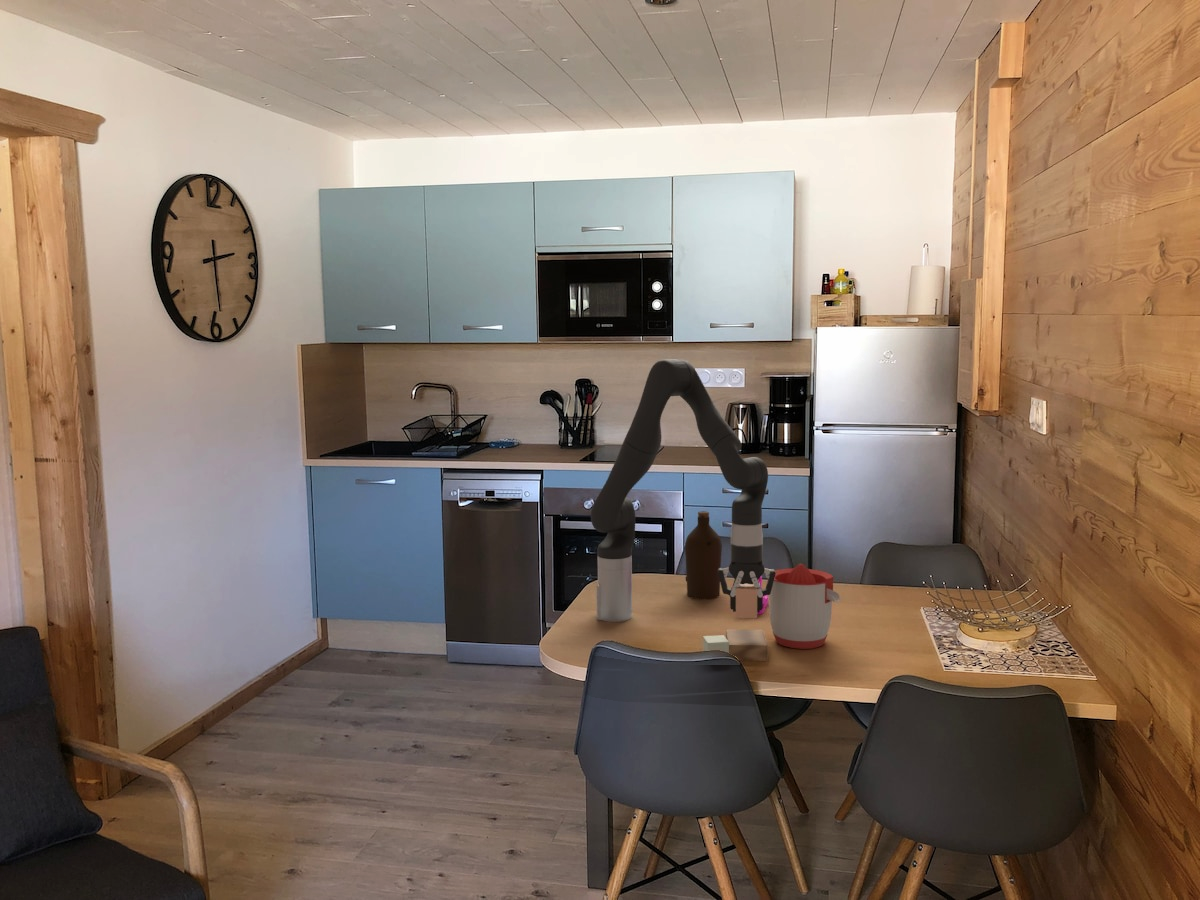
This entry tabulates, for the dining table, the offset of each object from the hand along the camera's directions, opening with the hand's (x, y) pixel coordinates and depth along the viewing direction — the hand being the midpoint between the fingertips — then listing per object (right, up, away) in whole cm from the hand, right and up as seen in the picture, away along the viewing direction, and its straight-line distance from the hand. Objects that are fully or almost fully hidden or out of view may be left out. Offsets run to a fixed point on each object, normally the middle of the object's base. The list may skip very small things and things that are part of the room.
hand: (746, 611), depth 227 cm
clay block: (0, -1, 0) cm, 1 cm away
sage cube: (-8, -11, -4) cm, 14 cm away
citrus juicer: (+15, -9, +7) cm, 19 cm away
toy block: (+8, -6, +39) cm, 40 cm away
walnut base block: (0, -10, +1) cm, 10 cm away
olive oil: (-5, -4, +50) cm, 51 cm away
